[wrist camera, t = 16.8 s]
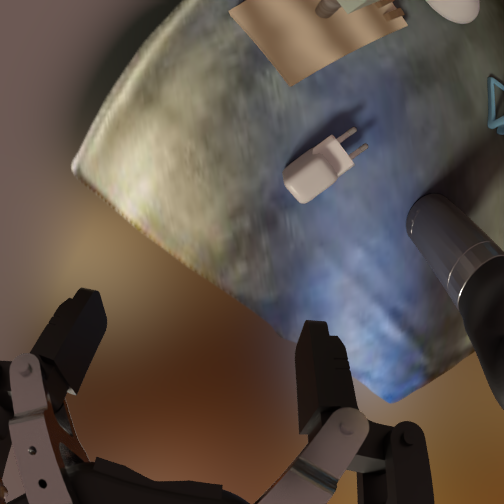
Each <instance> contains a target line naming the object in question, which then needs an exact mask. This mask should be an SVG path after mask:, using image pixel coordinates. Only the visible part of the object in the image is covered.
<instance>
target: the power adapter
mask: <svg viewBox="0 0 504 504" xmlns="http://www.w3.org/2000/svg"><path fill="white" fill-rule="evenodd" d="M356 131H357V129H356V127H352V128H351V129H349V130H348V131H347V132H345V133H344V134H343V135H341V136H340V137H338V138H337V139H336V138H335V137H334V136H333V135H330V136H329V137H327V138H326V139H325V140H323V141H322V142H321V143H319V144H318V145H317V146H315V147H313V148H311V149H309V150H308V151H306V152H305V153H304V154H302V155H301V156H300V157H298V158H297V159H296V160H295V161H293V162H292V163H291V164H290V165H288V166H287V167H286V168H285V169H284V170H283V172H282V174H283V180H284V184H285V186H286V188H287V189H288V190H289V191H290V192H291V194H292V195H293V196H294V197H295V198H296V199H297V200H298V201H299V202H300V203H303V204H304V203H307V202H309V201H310V200H312V199H313V198H314V197H316V196H317V195H319V194H320V193H321V192H323V191H324V190H325V189H327V188H328V187H329V186H331V185H332V184H333V183H334V182H335V181H336V180H337V178H338V177H339V176H341V175H342V174H343V173H345V172H346V171H347V170H349V169H350V168H351V167H353V166H354V163H353V161H352V159H354V158H355V157H356V156H357V155H359V154H360V153H361V152H363V151H365V150H366V149H367V148H368V144H366V143H365V144H363V145H362V146H360V147H359V148H358V149H357V150H355V151H354V152H353V153H351V154H349V155H348V154H347V153H346V152H345V150H344V149H343V147H342V146H341V145H340V143H341V142H343V141H344V140H345V139H346V138H348V137H349V136H351V135H352V134H354V133H355V132H356Z"/></svg>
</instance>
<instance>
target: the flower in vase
mask: <svg viewBox="0 0 504 504" xmlns="http://www.w3.org/2000/svg"><path fill="white" fill-rule="evenodd" d="M425 1H426V2H427V3H428V4H429V5H430V6H431V7H432V8H433V9H434V10H435V11H436V12H437V13H439V14H440V15H441V16H443V17H444V18H446V19H448V20H450V21H452V22H455V23H459V24H466V23H470V22H471V21H473V20H474V19H475V18H476V16H477V15H478V13H479V7H480V5H479V0H425Z"/></svg>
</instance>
